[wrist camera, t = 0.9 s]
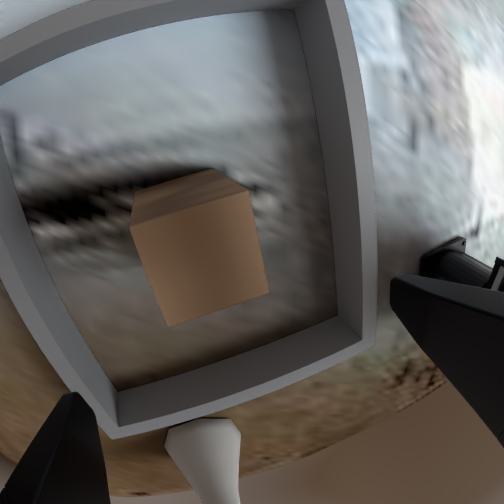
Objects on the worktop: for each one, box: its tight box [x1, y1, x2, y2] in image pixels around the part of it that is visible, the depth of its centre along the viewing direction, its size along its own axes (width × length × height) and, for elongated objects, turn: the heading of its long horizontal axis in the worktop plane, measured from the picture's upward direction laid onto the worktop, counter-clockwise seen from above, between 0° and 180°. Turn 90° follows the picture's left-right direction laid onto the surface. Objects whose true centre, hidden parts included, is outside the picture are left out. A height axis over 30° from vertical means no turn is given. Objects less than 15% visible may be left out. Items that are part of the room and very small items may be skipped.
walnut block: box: [129, 168, 270, 327], centre depth 15 cm, size 4×4×6 cm
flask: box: [164, 419, 241, 504], centre depth 21 cm, size 7×7×10 cm
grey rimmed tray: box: [0, 0, 378, 439], centre depth 16 cm, size 20×24×4 cm
